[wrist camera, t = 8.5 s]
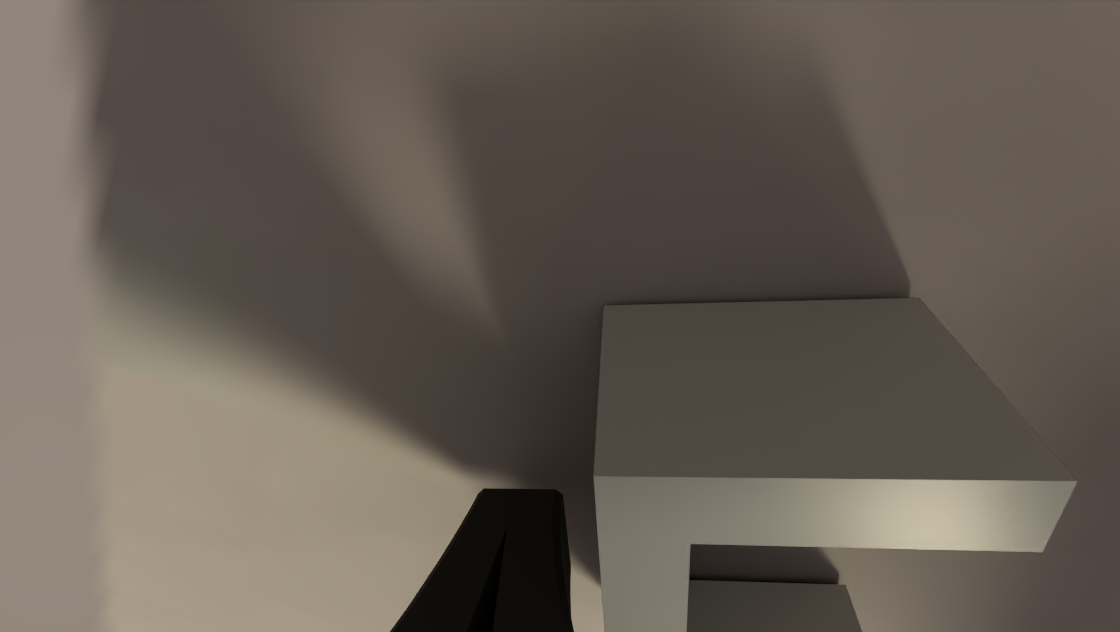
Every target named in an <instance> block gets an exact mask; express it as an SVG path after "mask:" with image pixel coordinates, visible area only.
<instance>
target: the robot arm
mask: <svg viewBox="0 0 1120 632" xmlns="http://www.w3.org/2000/svg"><path fill="white" fill-rule="evenodd" d="M570 576H571V563H570V554H569V545H568V537H567V528H566V519H565V510H564V501H563V494H561V493H560V492H559V491H557V490H556V489H483V490H482V491H481V492H480V493H478V495H477V497H476V499H475V501H474V503H473V504H472V506H471V508H470V510H469V512H468V513H467V515H466V517H465V518H464V520H463V522H462V524H461V525H460V527H459V529H458V530H457V532H456V534H455V535H454V537H453V539H452V540H451V542H450V544H449V545H448V547H447V548H446V550H445V552H444V553H443V555H442V556H441V558H440V560H439V561H438V563H437V564H436V566H435V567H434V569H433V570H432V572H431V573H430V575H429V576H428V578H427V579H426V581H425V582H424V584H423V585H422V587H421V588H420V590H419V591H418V593H417V594H416V596H415V597H414V599H413V600H412V602H411V603H410V605H409V606H408V608H407V609H406V610H405V612H404V613H403V615H402V616H401V617H400V619H399V620H398V621H397V623H396V624H395V626H394V627H393V628H392V630H391V631H390V632H574V630H573V625H572V620H571V602H570Z"/></svg>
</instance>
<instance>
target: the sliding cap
mask: <svg viewBox="0 0 1120 632" xmlns="http://www.w3.org/2000/svg"><path fill="white" fill-rule="evenodd" d="M593 478H594V491H595V505H596V519H597V533H598V547H599V561H600V575H601V588H602V602H603V616H604V630H605V632H862V630H861V627H860V624H859V622H858V619H857V616H856V613H855V610H854V607H853V605H852V602H851V599H850V596H849V593H848V590H847V588H846V585H836V584H803V583H770V582H737V581H704V580H689V566H690V544H712V545H755V546H798V547H841V548H884V549H927V550H970V551H1013V552H1043V550H1044V548H1045V546H1046V544H1047V542H1048V540H1049V538H1050V536H1051V534H1052V532H1053V530H1054V528H1055V526H1056V524H1057V522H1058V520H1059V518H1060V516H1061V514H1062V512H1063V510H1064V508H1065V506H1066V504H1067V502H1068V500H1069V498H1070V496H1071V494H1072V492H1073V490H1074V488H1075V486H1076V484H1077V482H1078V481H1077V480H1076V478H1075V477H1074V476H1073V475H1072V474H1071V473H1070V471H1069V470H1068V469H1067V468H1066V467H1065V466H1064V465H1063V463H1062V462H1061V461H1060V460H1059V459H1058V458H1057V456H1056V455H1055V454H1054V453H1053V452H1052V451H1051V450H1050V448H1049V447H1048V446H1047V445H1046V444H1045V443H1044V441H1043V440H1042V439H1041V438H1040V437H1039V436H1038V435H1037V433H1036V432H1035V431H1034V430H1033V429H1032V428H1031V426H1030V425H1029V424H1028V423H1027V422H1026V421H1025V420H1024V418H1023V417H1022V416H1021V415H1020V414H1019V413H1018V411H1017V410H1016V409H1015V408H1014V407H1013V406H1012V405H1011V403H1010V402H1009V401H1008V400H1007V399H1006V398H1005V396H1004V395H1003V394H1002V393H1001V392H1000V391H999V390H998V388H997V387H996V386H995V385H994V384H993V383H992V381H991V380H990V379H989V378H988V377H987V376H986V375H985V373H984V372H983V371H982V370H981V369H980V368H979V366H978V365H977V364H976V363H975V362H974V361H973V360H972V358H971V357H970V356H969V355H968V354H967V353H966V351H965V350H964V349H963V348H962V347H961V346H960V344H959V343H958V342H957V341H956V340H955V339H954V338H953V336H952V335H951V334H950V333H949V332H948V331H947V329H946V328H945V327H944V326H943V325H942V324H941V323H940V321H939V320H938V319H937V318H936V317H935V316H934V314H933V313H932V312H931V311H930V310H929V309H928V308H927V306H926V305H925V304H924V303H923V302H922V301H921V299H920V298H891V299H849V300H808V301H767V302H726V303H685V304H643V305H604V307H603V324H602V340H601V357H600V374H599V391H598V408H597V424H596V441H595V458H594V475H593Z"/></svg>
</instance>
